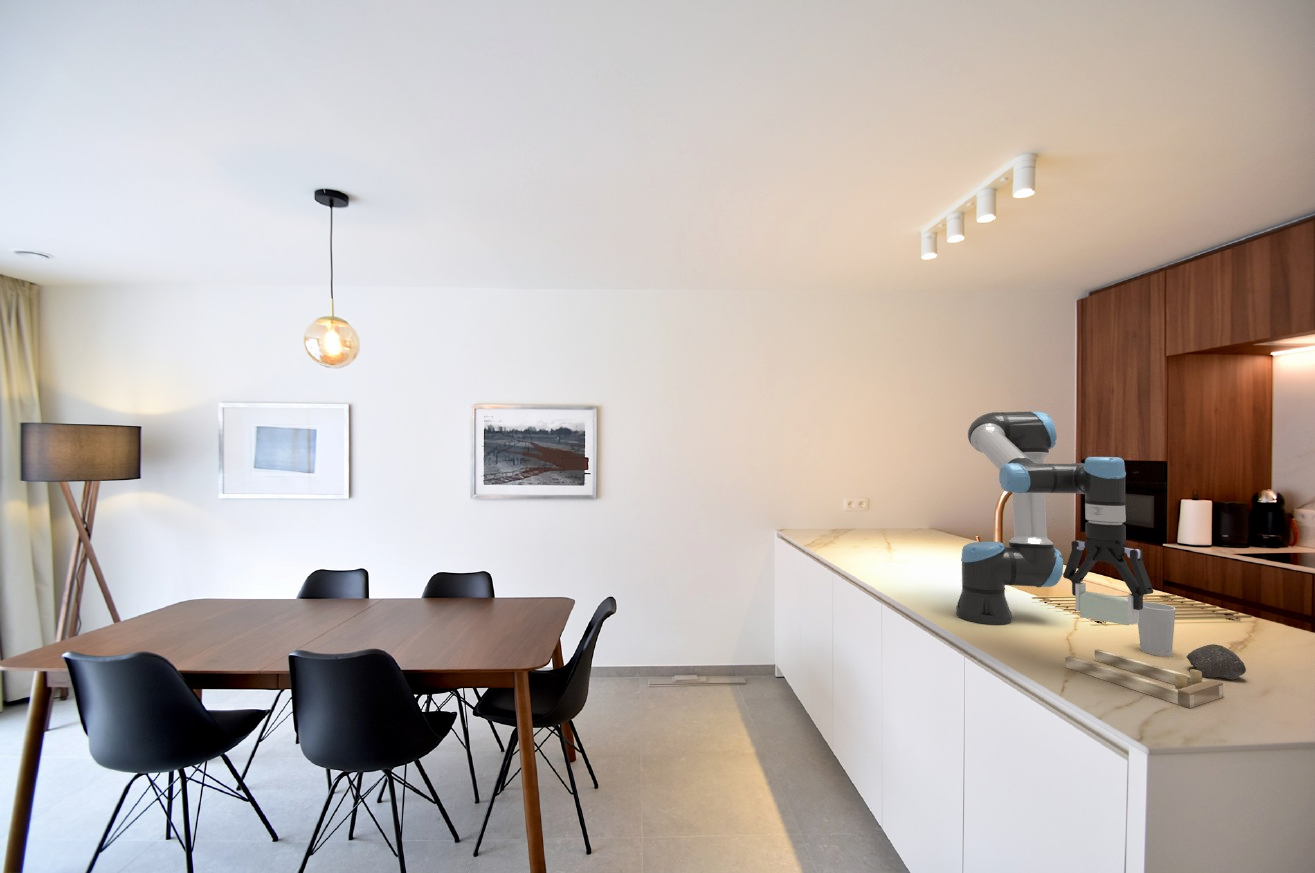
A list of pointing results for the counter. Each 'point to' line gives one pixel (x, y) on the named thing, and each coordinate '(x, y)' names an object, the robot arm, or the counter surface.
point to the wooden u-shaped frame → (1186, 689)
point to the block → (1104, 607)
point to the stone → (1216, 662)
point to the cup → (1156, 628)
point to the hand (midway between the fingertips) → (1106, 616)
